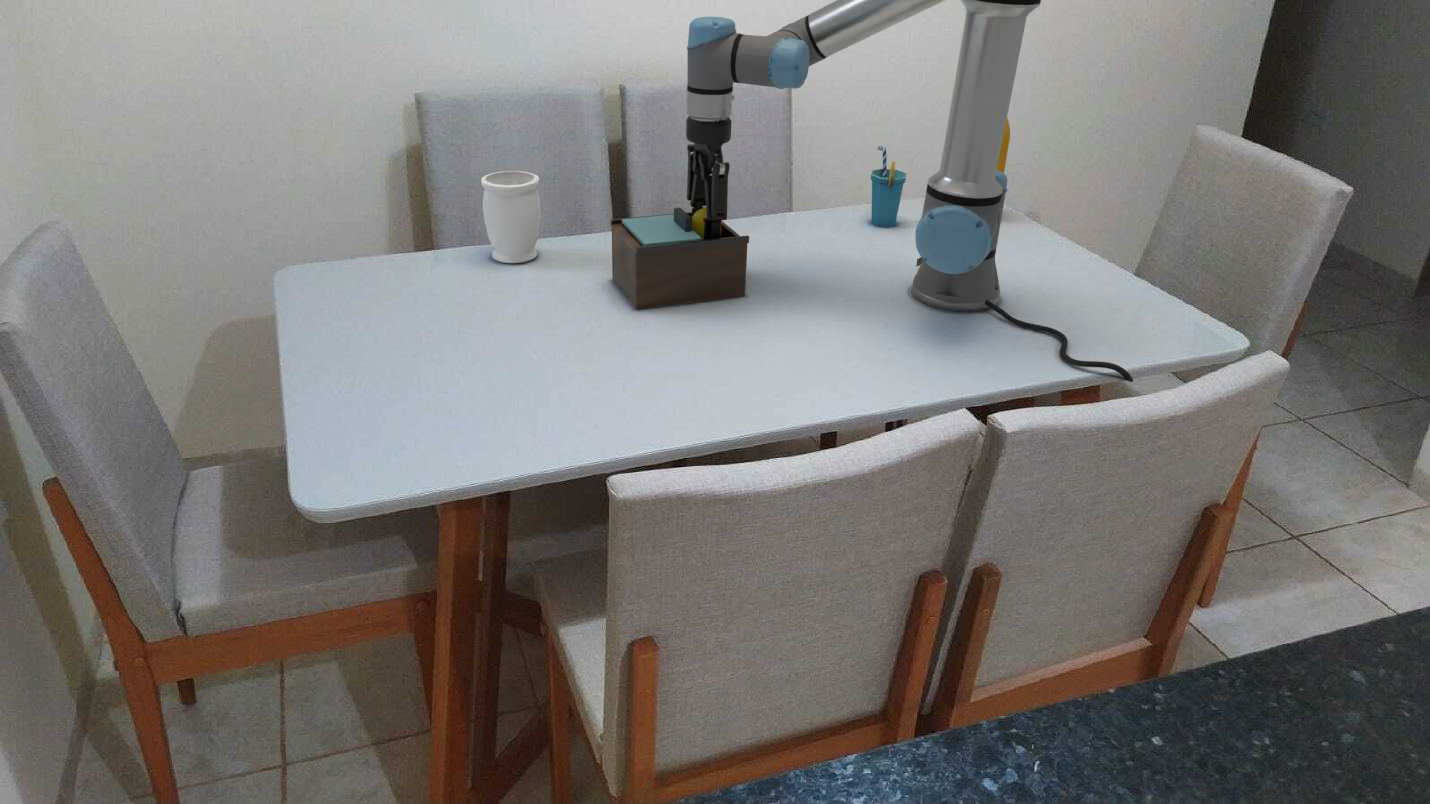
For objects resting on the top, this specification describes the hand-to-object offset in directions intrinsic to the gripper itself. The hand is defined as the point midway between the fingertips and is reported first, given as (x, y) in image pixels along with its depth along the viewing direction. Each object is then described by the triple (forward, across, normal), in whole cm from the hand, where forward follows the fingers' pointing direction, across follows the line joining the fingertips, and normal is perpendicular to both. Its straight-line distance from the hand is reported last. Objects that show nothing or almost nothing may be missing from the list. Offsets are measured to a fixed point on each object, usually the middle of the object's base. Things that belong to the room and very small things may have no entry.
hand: (705, 249), depth 184 cm
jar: (+7, +24, +29) cm, 38 cm away
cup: (+7, +22, -49) cm, 54 cm away
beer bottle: (+7, +20, -71) cm, 74 cm away
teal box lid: (-4, 0, +8) cm, 9 cm away
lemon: (+1, 0, 0) cm, 1 cm away
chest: (+7, 0, +5) cm, 8 cm away
